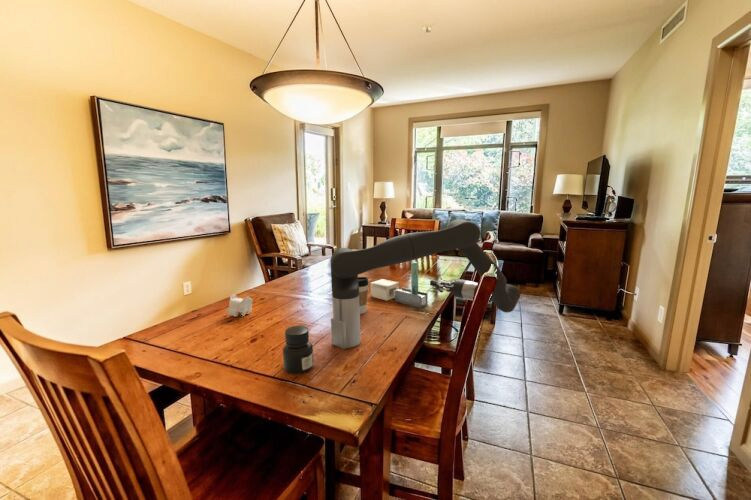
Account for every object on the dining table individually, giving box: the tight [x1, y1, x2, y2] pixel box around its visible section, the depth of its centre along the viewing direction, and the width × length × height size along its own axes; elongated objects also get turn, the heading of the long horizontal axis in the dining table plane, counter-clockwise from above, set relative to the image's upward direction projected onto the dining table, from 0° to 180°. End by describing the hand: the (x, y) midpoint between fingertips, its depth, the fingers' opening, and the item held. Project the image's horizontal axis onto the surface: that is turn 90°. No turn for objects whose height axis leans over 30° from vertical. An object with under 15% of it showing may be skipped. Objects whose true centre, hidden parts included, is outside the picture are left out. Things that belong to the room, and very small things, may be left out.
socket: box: [370, 278, 400, 301], centre depth 168 cm, size 9×10×7 cm
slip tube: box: [393, 261, 426, 305], centre depth 156 cm, size 4×16×19 cm, turn 48°
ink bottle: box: [282, 325, 315, 375], centre depth 102 cm, size 10×9×12 cm
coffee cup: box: [358, 276, 369, 315], centre depth 147 cm, size 8×8×15 cm
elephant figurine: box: [224, 293, 254, 317], centre depth 146 cm, size 10×12×9 cm
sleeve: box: [394, 287, 428, 309], centre depth 157 cm, size 6×14×6 cm, turn 48°
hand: (431, 282), depth 148 cm, fingers closed
